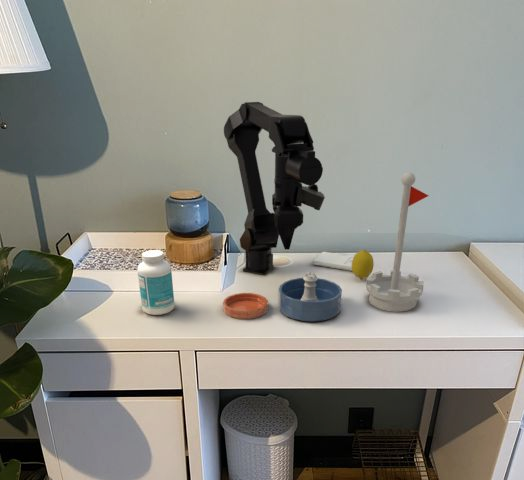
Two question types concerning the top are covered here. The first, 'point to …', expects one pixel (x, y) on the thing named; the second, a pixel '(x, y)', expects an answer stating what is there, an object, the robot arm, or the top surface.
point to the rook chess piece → (309, 287)
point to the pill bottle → (155, 283)
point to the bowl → (309, 310)
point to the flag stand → (398, 264)
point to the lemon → (362, 264)
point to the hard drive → (334, 261)
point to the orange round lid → (245, 305)
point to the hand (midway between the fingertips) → (285, 242)
